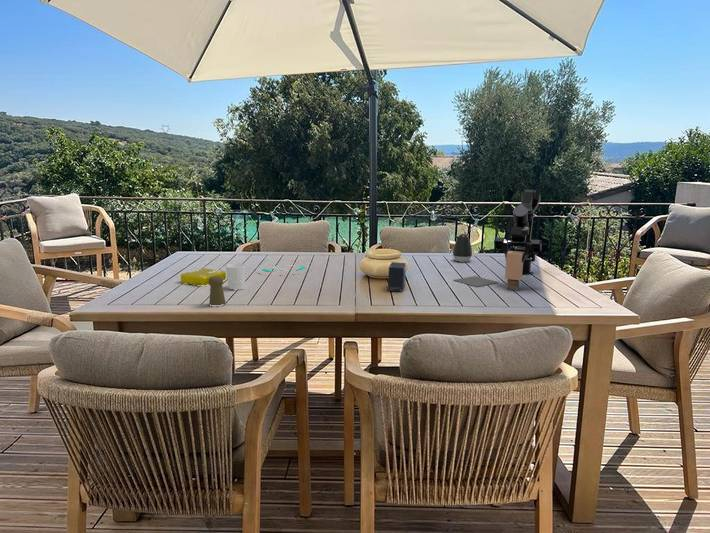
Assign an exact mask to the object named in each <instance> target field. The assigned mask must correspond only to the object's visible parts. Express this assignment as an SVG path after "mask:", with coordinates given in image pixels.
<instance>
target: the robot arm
mask: <svg viewBox="0 0 710 533" xmlns="http://www.w3.org/2000/svg"><path fill="white" fill-rule="evenodd" d="M520 194H521V195H520V202H521V203H519V204H518V205H517V206H516V207H514V209H513V210H512V217H513V222H514V226H512V227H511V229H510V230H511V231H510V240H507V239H505V237H502V236H501V237H500V236H497V237H495V238H494V240H493V244H494V249H495V250H499V251H501V252H503V253H504V257H505V259H506V257H507V252H508V251H509V247H513V248H515V249H514V251H519V252H524V254H523V257H522V262H523V271H522V275H528V274H529V275H530V274H533V273H534V271H531V268H532V267H531V265H532V263H533V262H536V253H538V254H539V253H541V252H542V240H540V239H532V232H533V222H534V217H535V212H536V210H537V209H538V207H539V204H540V203H541V193H540V192H538V191H536V190H535V189H523V192H521V193H520Z"/></svg>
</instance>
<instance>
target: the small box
mask: <svg viewBox="0 0 710 533" xmlns="http://www.w3.org/2000/svg"><path fill="white" fill-rule="evenodd" d="M406 267H407V265H406V262H405V263H404V262H394V261H392V262H391V263H390V264H389V266H388V278H387V279H388V283H387V285H388V286H387V291H388V292H397V293H403V291H404V289H405V287H406V272H407V271H406V270H407V268H406Z"/></svg>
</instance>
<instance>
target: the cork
mask: <svg viewBox="0 0 710 533" xmlns="http://www.w3.org/2000/svg"><path fill="white" fill-rule="evenodd" d="M209 284H210V285H209V287H210V288H209V303H208V305H209V304H211V305H221V304H225V303H226V298H225V293H224V288H223V284H224V281H223V278H222V277H221V276H212V277H210V278H209ZM226 304H227V303H226Z"/></svg>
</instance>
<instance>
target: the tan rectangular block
mask: <svg viewBox="0 0 710 533" xmlns="http://www.w3.org/2000/svg"><path fill="white" fill-rule="evenodd" d="M523 254H524V252H519V251H515V250H508V252H507V257H506V258H505V274H504V279H505V280H508V279H511V280H519V281H521V280H522V278H523V274H522V271H523V262H522V257H523Z"/></svg>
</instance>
